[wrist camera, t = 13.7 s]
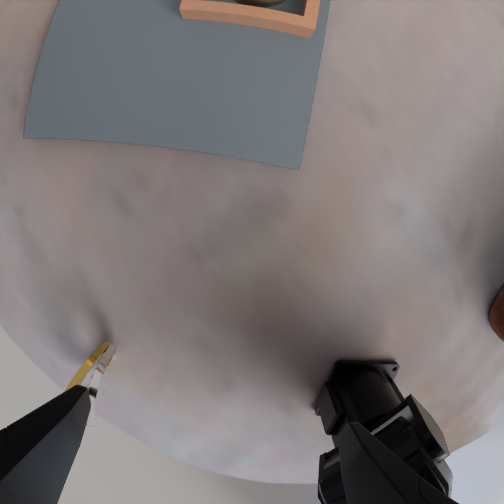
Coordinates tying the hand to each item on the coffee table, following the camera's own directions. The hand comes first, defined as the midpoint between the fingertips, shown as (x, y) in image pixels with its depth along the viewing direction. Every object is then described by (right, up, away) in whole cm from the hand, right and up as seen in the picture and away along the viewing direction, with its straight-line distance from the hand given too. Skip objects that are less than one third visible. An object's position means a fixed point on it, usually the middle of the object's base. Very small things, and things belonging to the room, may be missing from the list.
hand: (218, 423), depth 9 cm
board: (-4, +21, +7) cm, 22 cm away
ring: (-11, -3, +14) cm, 18 cm away
